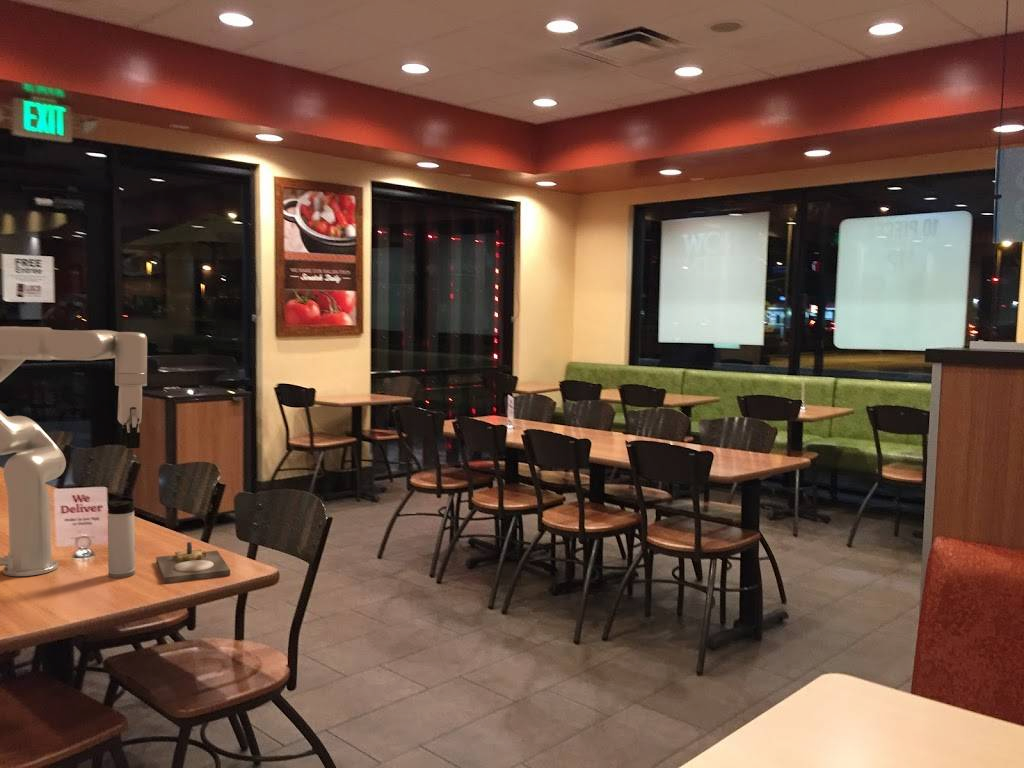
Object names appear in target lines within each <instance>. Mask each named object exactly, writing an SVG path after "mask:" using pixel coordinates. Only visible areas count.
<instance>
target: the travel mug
mask: <svg viewBox="0 0 1024 768" xmlns="http://www.w3.org/2000/svg"><path fill="white" fill-rule="evenodd" d="M135 536H136V535H135V500H134V498H132V496H123V497H118V498H113V499H111V500H109V501H108V502H107V555H108V556H107V558H108V559H107V560H108V561H107V562H108V563H107V564H108V565H107V567H108V577H110V578H111V579H112V578H113V579H125V578H129V577H132V576H134V575H135V573H136V557H135V556H136V555H135V554H136V553H135V552H136V551H135V547H136V546H135V541H136V540H135V539H136V537H135Z"/></svg>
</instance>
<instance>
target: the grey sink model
mask: <svg viewBox="0 0 1024 768" xmlns="http://www.w3.org/2000/svg"><path fill="white" fill-rule="evenodd" d="M192 544H193V543H192V542H191V541H188V542H186V549H185V550H182V551H176V552H174V554H172V555H164V556H156V559H155V560H156V565H157V568H158V571H159V573H160V575H161V578H162V580H163V584H172V583H181V582H189V581H197V580H196V579H198V580H205V579H204V578H206V579H211V578H213V577H214V578H222V577H230V576H231V568H230V567H229V566H228V564H227V563H226V561H225V559H224V558H223V556H222V555H221V554H220V552H219V551H218V550H210V551H202V550H201V549H195V550H194V549H192V548H193V545H192ZM229 575H230V576H229Z"/></svg>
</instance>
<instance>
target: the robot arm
mask: <svg viewBox="0 0 1024 768" xmlns="http://www.w3.org/2000/svg"><path fill="white" fill-rule="evenodd" d="M109 359H114V362H115V365H114V368H115V369H114V370H115V371H114V374H115V375H114V385H115V386H117V387H118V394H117V395H118V398H117V400H118V401H117V421H118V423H119V424H121V425H122V427H121V443H122V444H124V443H125V448H126V449H139V448H140V447H141V436H140V435H141V432H140V424H141V423H142V415H143V412H142V411H143V387H146V386H148V337H147V335H146V334H145V333H143V332H136V331H134V332H133V331H120V332H119V331H115V330H108V329H92V330H69V329H68V330H66V329H65V330H63V329H62V330H61V329H52V327H47V326H45V327H44V326H43V327H40V326H0V383H2V382H3V381H4V380H5V379H6V378H7V377H9V376H10V375H11V374H12V373H13V372H14V371H15V370H17V368H18V367H20V366H21V365H22V364H23V363H24V362H25V361H26V360H27V361H28V360H29V361H31V360H32V361H53V360H55V361H96V360H109ZM13 453H14V454H13ZM10 454H13V455H12V456H11V457H10V458H8V460H7V461H6V462H5V465H4V467H3V479H4V483H5V488H6V495H7V507H8V509H7V510H8V511H7V514H8V540H9V541H8V543H9V546H8V548H9V552H8V554H7V555H4V556H3V557H0V567H1V566H4V567H2V572H3V574H4V575H6V576H9V577H10V576H11V577H31V576H38V575H42V574H43V575H44V574H47V573H50V572H53V571H55V570H56V569H58V567H59V562H58V561H57V560H55V559H52V533H51V532H52V529H51V527H52V526H51V523H52V522H51V500H50V499H51V498H50V495H49V492H48V488H47V486H46V483H48V482H50V481H52V480H56V479H57V478H59V477H60V476H62V474H63V473H64V471H65V469H66V467H67V460H66V457H65V455H64V453H63V452H62V450H61V449H60V448H59V447H58V445H57V444H56V443H55V442H54V441H53V440H52V438H51V437H50V436H49V435H48V433H46V432H45V430H43V429H42V427H41V426H40V425H39V424H38V423H37V422H36V421H34V420H33V419H31V418H30V417H27V416H25V415H24V416H23V415H13V416H7V415H6V414H5V413H4V412H2V410H1V409H0V456H4V455H10Z"/></svg>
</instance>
